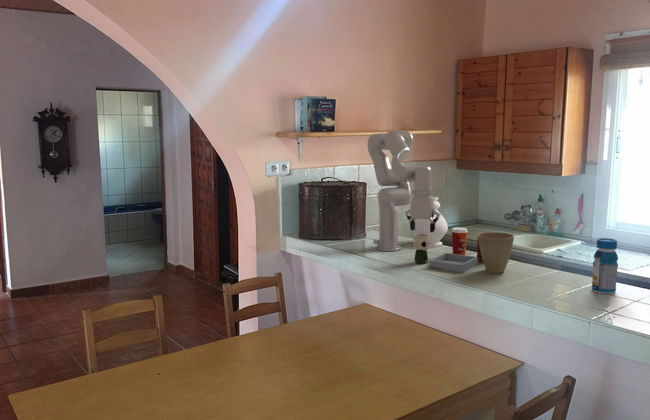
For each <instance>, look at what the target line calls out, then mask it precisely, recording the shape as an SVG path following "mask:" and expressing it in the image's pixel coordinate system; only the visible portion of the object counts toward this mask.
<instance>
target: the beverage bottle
mask: <svg viewBox="0 0 650 420" xmlns="http://www.w3.org/2000/svg"><path fill="white" fill-rule="evenodd" d="M596 248H597V250H596V251H595V253H594V254H593V262H592V277H591V278H592V280H591V290H592V291H593V292H595V293H597V294H602V295H613V294H615V293H616V292H617V279H618V278H617V277H618V267H619V263H618V260H619V256H618V254H617V252H616V250H617V248H618V241H617V239H615V238H609V237H608V238H607V237H600V238H597V240H596Z"/></svg>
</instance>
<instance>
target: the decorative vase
mask: <svg viewBox="0 0 650 420" xmlns="http://www.w3.org/2000/svg"><path fill="white" fill-rule="evenodd" d="M431 197H432V198H433V203H434V210H435V211H437V212H438V213H440V211H438V210H439V208H441V203H440V202H439V201H438V200H439V197H438V196H431ZM444 217H445V216H443V215H442V214H441V215H440V217H439V220H438V221H437V222H436V223H435V230H434V232H430V223H431V222H430V220H429V219H415V220H414V221H415V230H413V231H414V233H415V234H428V235H429V238H430V243H429V247H440V246H442V245H443V242H442V241H441V240H442V239H443V237H444V236H445V234H446V233H447V232H448V230H449V229H448V228H449V227H448V222H447V220H446V219H445V218H444ZM435 218H436V215H435V214H434V219H435ZM446 235H447V234H446Z"/></svg>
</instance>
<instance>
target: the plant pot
mask: <svg viewBox="0 0 650 420" xmlns="http://www.w3.org/2000/svg"><path fill="white" fill-rule="evenodd" d="M477 239H478V240H479V247H480V252H481V256H482V260H483V262H482V263H483V265H484V269H485V271H486V272H487V273H491V274H502V273H504V272H505V270H506V267H507V265H508V262H509V260H510V257H511V253H512V249H513V245H514V239H515V235H513V234H512V233H508V232H500V231H498V232H497V231H495V232H494V231H489V232H480V233H478V234H477Z"/></svg>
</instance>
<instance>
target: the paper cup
mask: <svg viewBox="0 0 650 420" xmlns="http://www.w3.org/2000/svg"><path fill="white" fill-rule="evenodd" d="M468 233H469V231H468V228H466V227H458V226H457V227H453V228H452V229H451V239H452V240H451V242H452V244H451V246H452V254H457V255H465V256H466V249H467V241H468V240H467V235H468Z"/></svg>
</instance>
